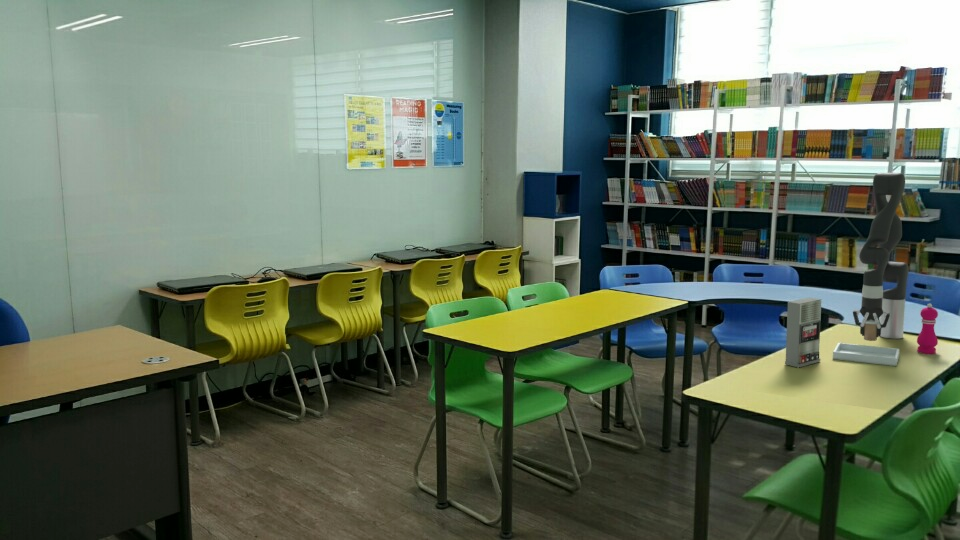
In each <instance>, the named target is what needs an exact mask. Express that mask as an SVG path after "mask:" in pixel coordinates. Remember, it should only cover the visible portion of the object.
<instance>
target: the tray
mask: <svg viewBox="0 0 960 540" xmlns="http://www.w3.org/2000/svg"><path fill="white" fill-rule="evenodd" d="M899 358H900V348H895V347H894V348H893V347H885V346H875V345H865V344H856V343H855V344H854V343H846V342H845V343H844V342H838V343H837V344H836V346H835V348H834V350H832V360H839V361H847V362H856V363H865V364H873V365H883V366H890V367H897V366H898V361H899Z"/></svg>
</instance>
